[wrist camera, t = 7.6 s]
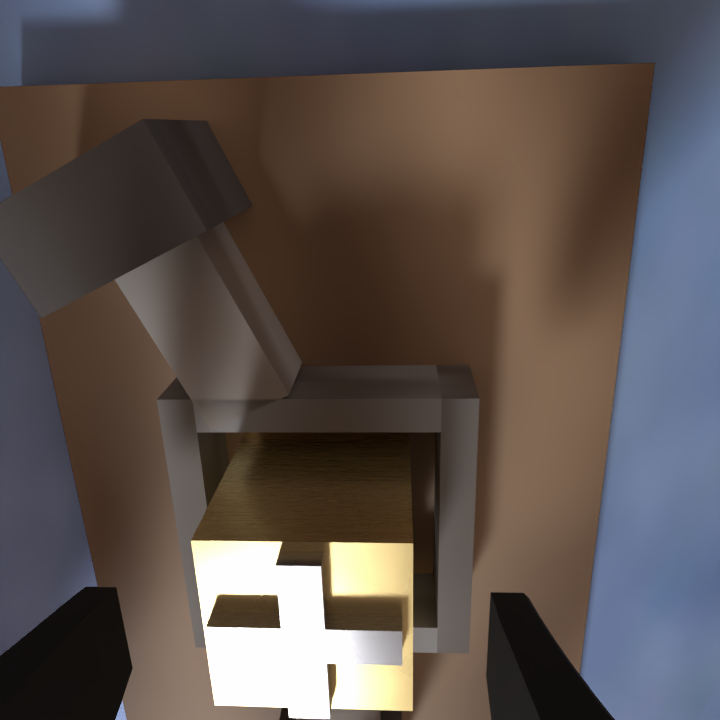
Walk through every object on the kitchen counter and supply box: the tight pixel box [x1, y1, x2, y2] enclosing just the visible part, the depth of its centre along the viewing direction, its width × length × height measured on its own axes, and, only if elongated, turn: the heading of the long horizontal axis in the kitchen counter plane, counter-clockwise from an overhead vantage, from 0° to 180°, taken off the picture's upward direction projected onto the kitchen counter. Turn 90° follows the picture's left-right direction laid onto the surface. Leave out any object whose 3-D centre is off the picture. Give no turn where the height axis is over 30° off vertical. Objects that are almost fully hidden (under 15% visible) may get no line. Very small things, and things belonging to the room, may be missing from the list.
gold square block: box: [191, 432, 413, 719], centre depth 14 cm, size 4×4×5 cm
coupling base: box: [0, 63, 655, 720], centre depth 15 cm, size 14×20×5 cm
